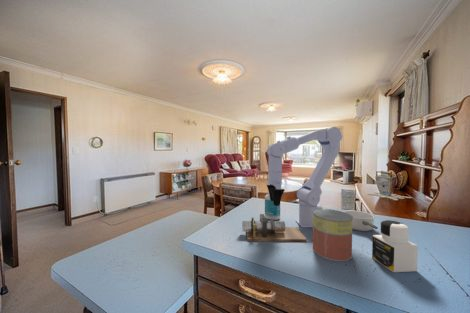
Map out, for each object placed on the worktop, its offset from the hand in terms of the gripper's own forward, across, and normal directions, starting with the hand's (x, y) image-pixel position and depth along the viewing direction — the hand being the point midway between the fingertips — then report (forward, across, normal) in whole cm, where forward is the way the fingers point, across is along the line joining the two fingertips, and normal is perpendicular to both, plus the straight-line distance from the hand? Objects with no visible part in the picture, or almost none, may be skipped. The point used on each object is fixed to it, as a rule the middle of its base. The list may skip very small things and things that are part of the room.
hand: (274, 202), depth 82 cm
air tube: (+10, +9, -6) cm, 15 cm away
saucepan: (+10, +5, +35) cm, 37 cm away
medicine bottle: (+10, +28, +28) cm, 41 cm away
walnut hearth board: (+10, +9, -2) cm, 14 cm away
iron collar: (+10, +9, -6) cm, 15 cm away
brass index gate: (+10, +9, -10) cm, 17 cm away
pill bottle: (+10, -10, +1) cm, 14 cm away
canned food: (+10, +21, +14) cm, 27 cm away
